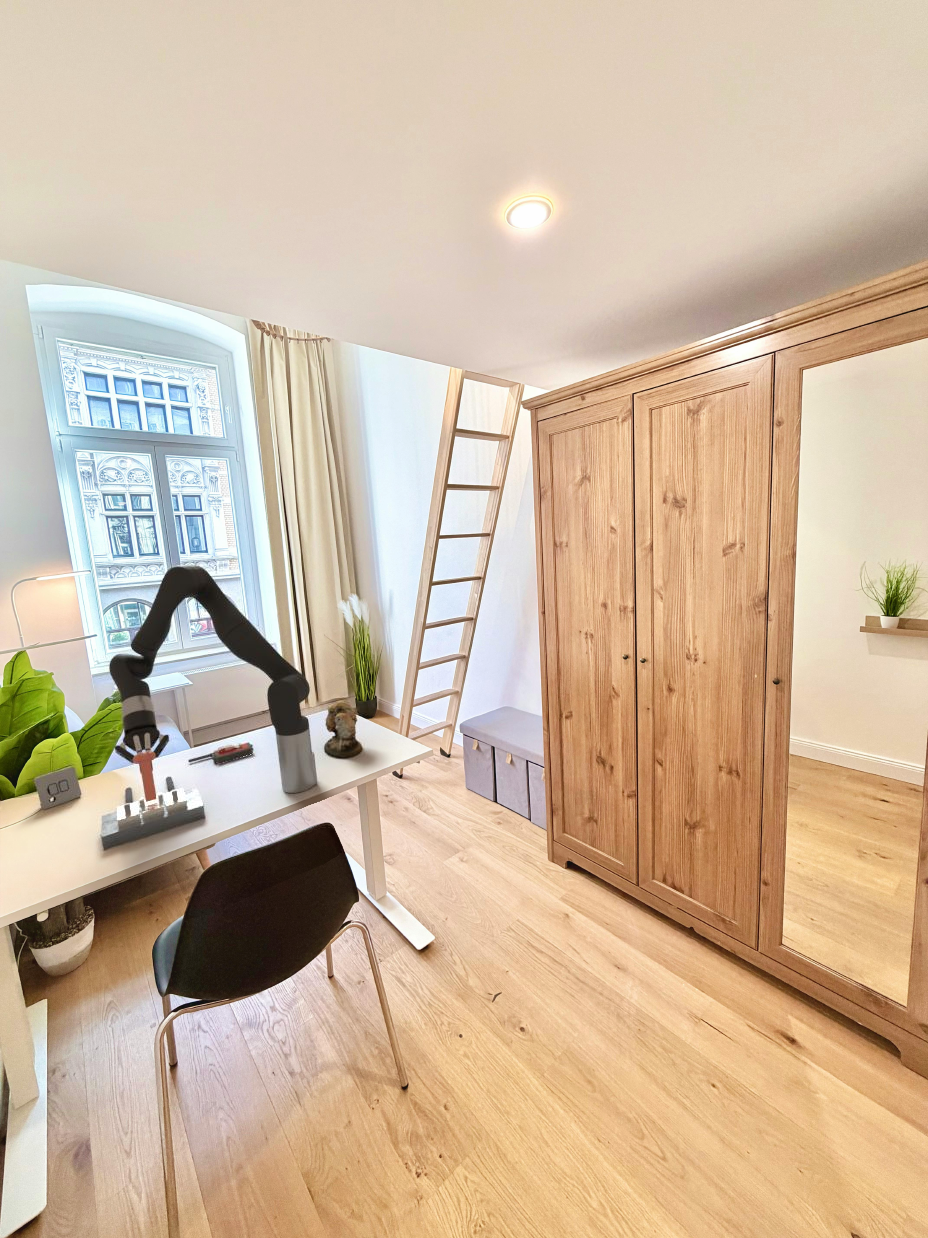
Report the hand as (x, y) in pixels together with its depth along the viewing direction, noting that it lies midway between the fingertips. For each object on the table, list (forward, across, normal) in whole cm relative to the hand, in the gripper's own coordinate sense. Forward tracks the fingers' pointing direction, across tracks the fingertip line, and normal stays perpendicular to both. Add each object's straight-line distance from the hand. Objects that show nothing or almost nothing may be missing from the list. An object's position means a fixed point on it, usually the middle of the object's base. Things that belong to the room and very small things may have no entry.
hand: (147, 774), depth 131 cm
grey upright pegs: (0, 0, +19) cm, 19 cm away
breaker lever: (+6, 0, +3) cm, 7 cm away
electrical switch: (-11, -22, +31) cm, 40 cm away
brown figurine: (+2, +56, +16) cm, 58 cm away
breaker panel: (+11, 0, +7) cm, 13 cm away
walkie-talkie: (-11, +21, +31) cm, 40 cm away
